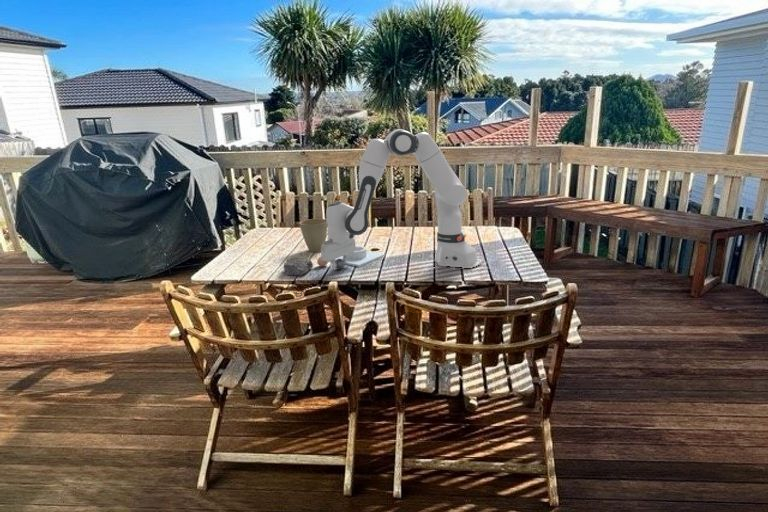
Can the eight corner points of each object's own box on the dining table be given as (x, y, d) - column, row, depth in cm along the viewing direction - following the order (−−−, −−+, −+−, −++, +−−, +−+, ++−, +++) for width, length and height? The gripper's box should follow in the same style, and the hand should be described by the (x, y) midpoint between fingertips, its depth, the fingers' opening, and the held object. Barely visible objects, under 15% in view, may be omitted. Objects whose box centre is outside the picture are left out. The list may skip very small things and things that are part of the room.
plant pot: (313, 245, 253) (311, 217, 248) (335, 248, 246) (333, 219, 241) (296, 252, 241) (293, 223, 236) (318, 255, 234) (315, 225, 229)
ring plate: (384, 256, 228) (383, 246, 227) (359, 267, 213) (358, 256, 212) (354, 250, 240) (353, 241, 238) (328, 260, 225) (327, 251, 223)
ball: (330, 265, 217) (329, 255, 215) (323, 268, 213) (322, 258, 211) (322, 263, 220) (322, 254, 218) (315, 266, 216) (314, 256, 214)
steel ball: (347, 268, 212) (346, 258, 210) (340, 271, 208) (339, 261, 206) (339, 266, 215) (338, 256, 213) (332, 269, 211) (331, 259, 209)
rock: (304, 278, 202) (316, 268, 216) (303, 264, 200) (315, 255, 214) (278, 276, 204) (291, 266, 219) (277, 262, 203) (291, 253, 217)
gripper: (326, 243, 197) (329, 272, 201) (356, 233, 212) (358, 260, 216) (316, 241, 201) (319, 270, 205) (346, 231, 216) (348, 259, 220)
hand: (339, 265), depth 211 cm, fingers closed on steel ball, 5 cm apart
